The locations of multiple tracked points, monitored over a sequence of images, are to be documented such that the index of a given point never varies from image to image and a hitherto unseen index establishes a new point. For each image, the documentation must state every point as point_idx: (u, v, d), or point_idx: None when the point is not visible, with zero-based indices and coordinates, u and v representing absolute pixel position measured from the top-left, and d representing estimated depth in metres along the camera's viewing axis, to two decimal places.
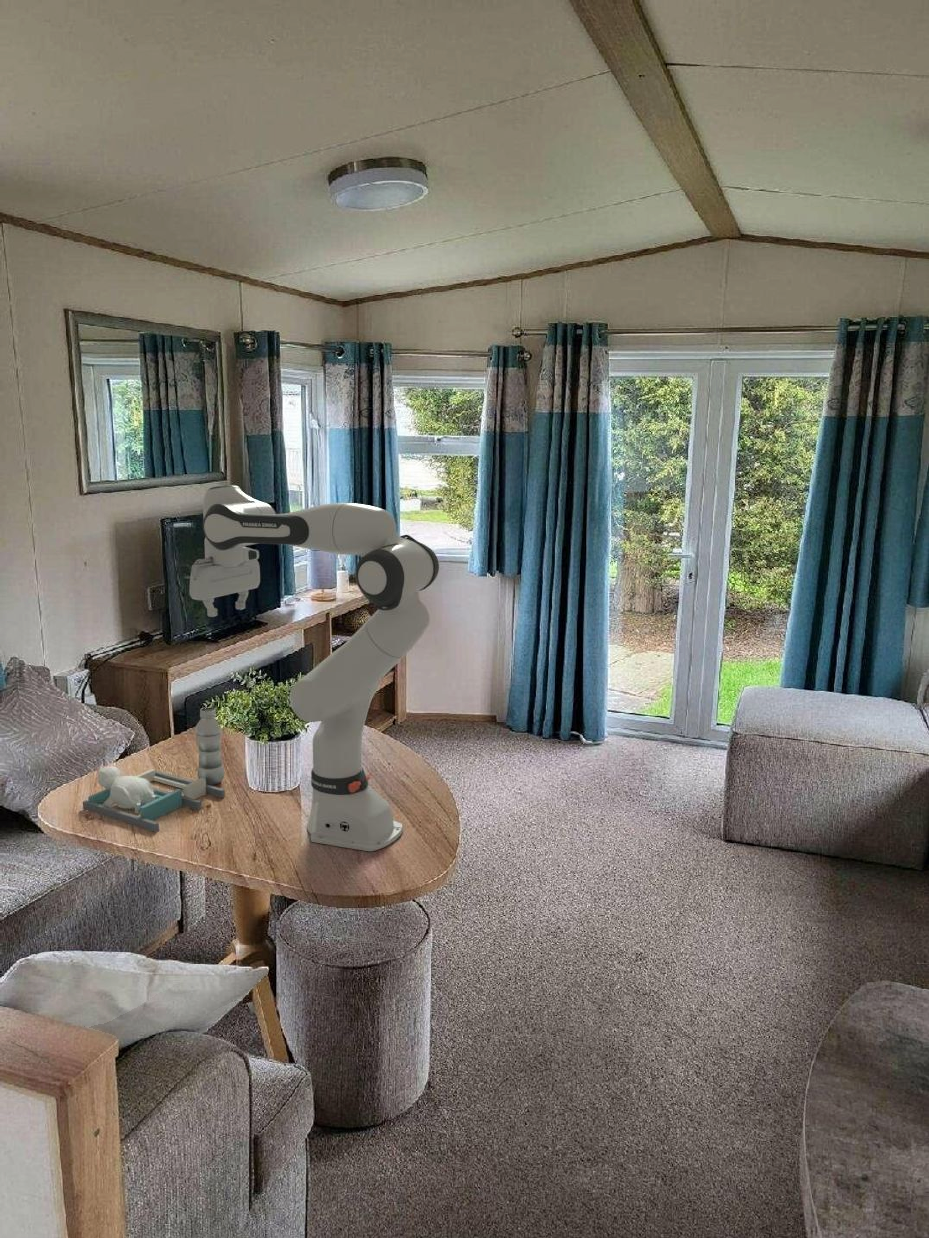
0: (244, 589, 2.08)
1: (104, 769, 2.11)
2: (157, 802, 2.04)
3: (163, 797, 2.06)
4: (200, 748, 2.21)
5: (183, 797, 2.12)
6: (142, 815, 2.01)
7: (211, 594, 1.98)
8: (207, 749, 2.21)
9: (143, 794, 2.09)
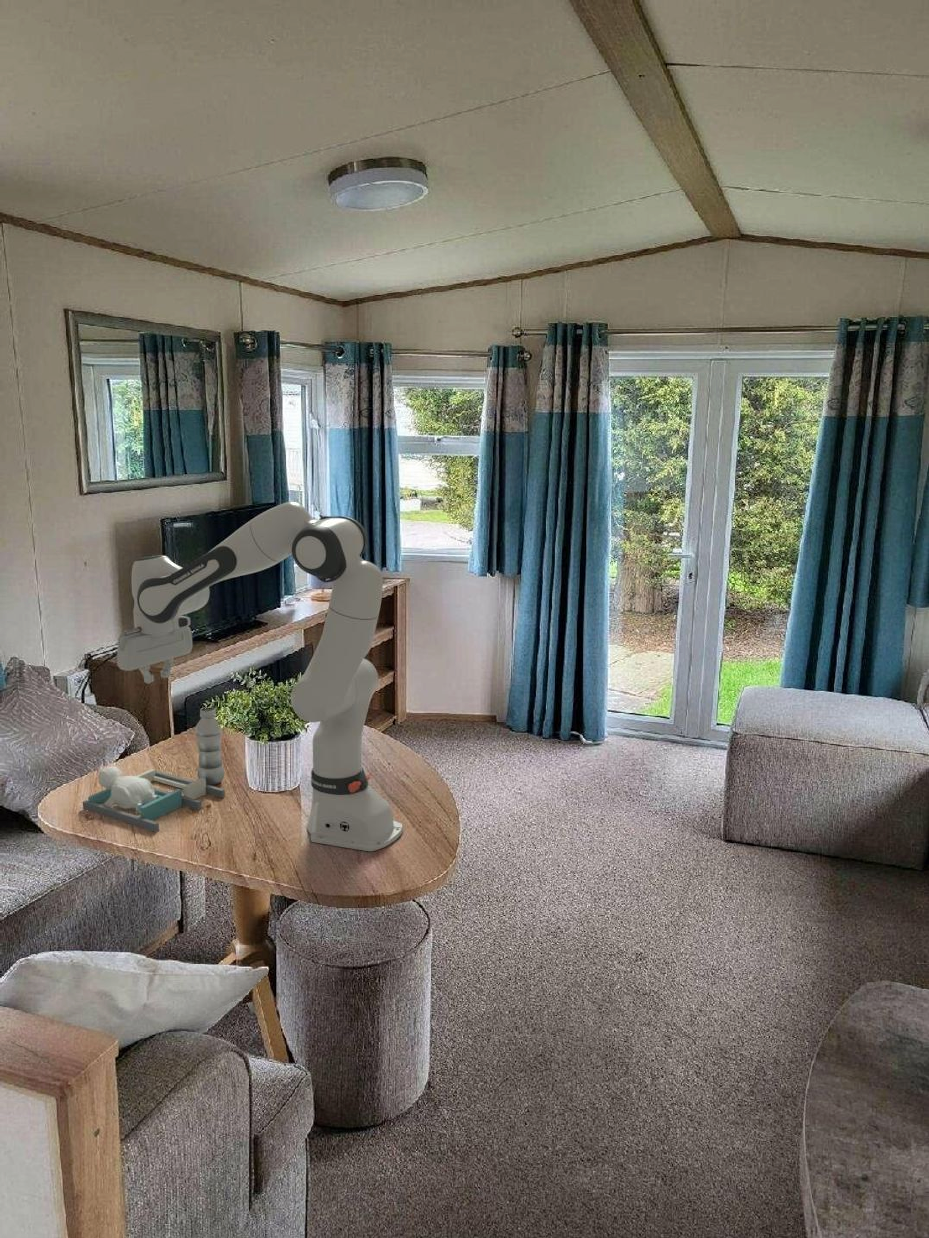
0: (175, 656, 2.09)
1: (105, 769, 2.11)
2: (157, 802, 2.04)
3: (163, 797, 2.06)
4: (200, 748, 2.21)
5: (183, 797, 2.12)
6: (142, 815, 2.01)
7: (139, 664, 1.99)
8: (207, 749, 2.21)
9: (144, 794, 2.09)
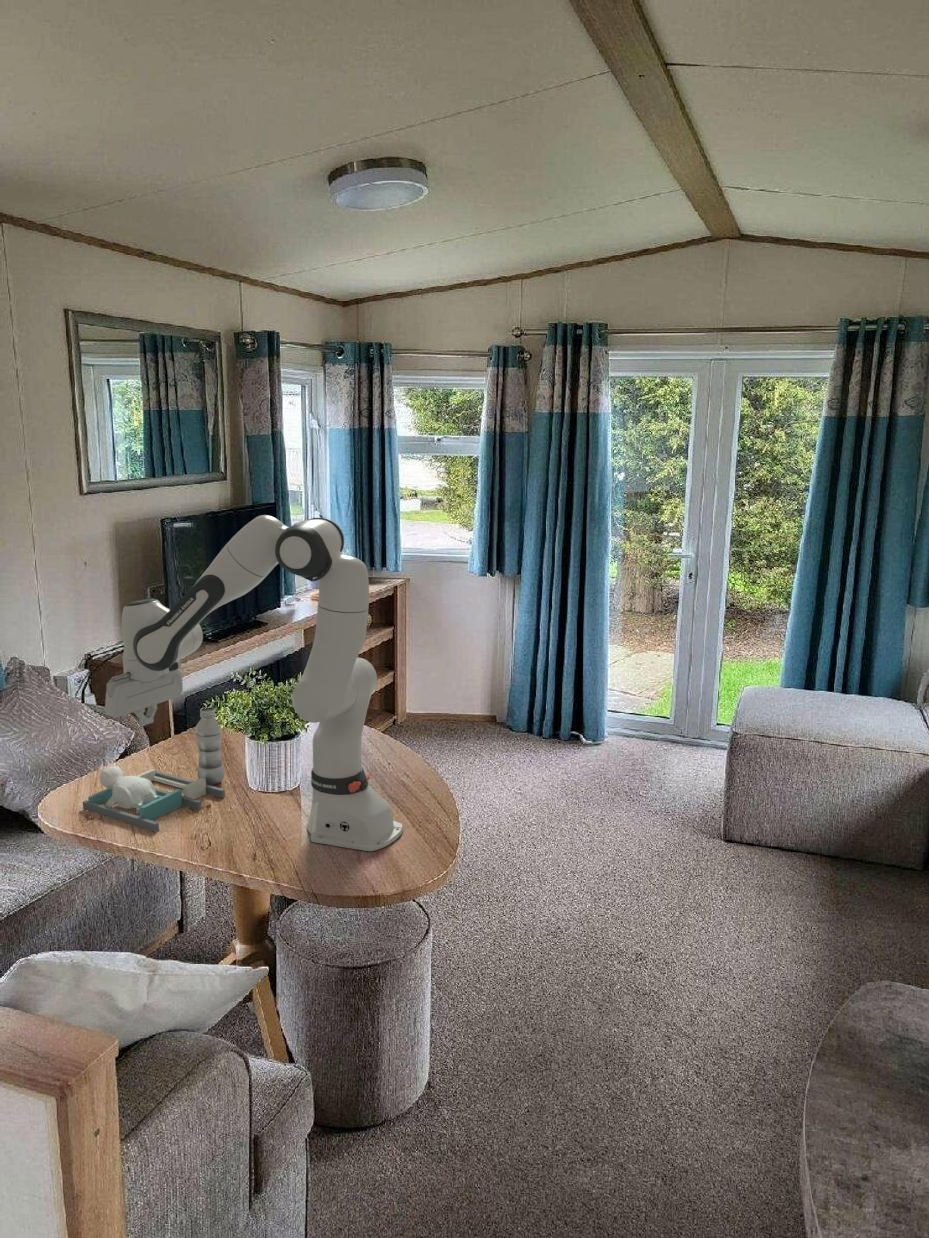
0: (165, 700, 2.06)
1: (106, 769, 2.11)
2: (157, 802, 2.04)
3: (163, 797, 2.06)
4: (200, 748, 2.21)
5: (183, 797, 2.12)
6: (142, 815, 2.01)
7: (127, 710, 1.97)
8: (207, 749, 2.21)
9: (145, 794, 2.09)
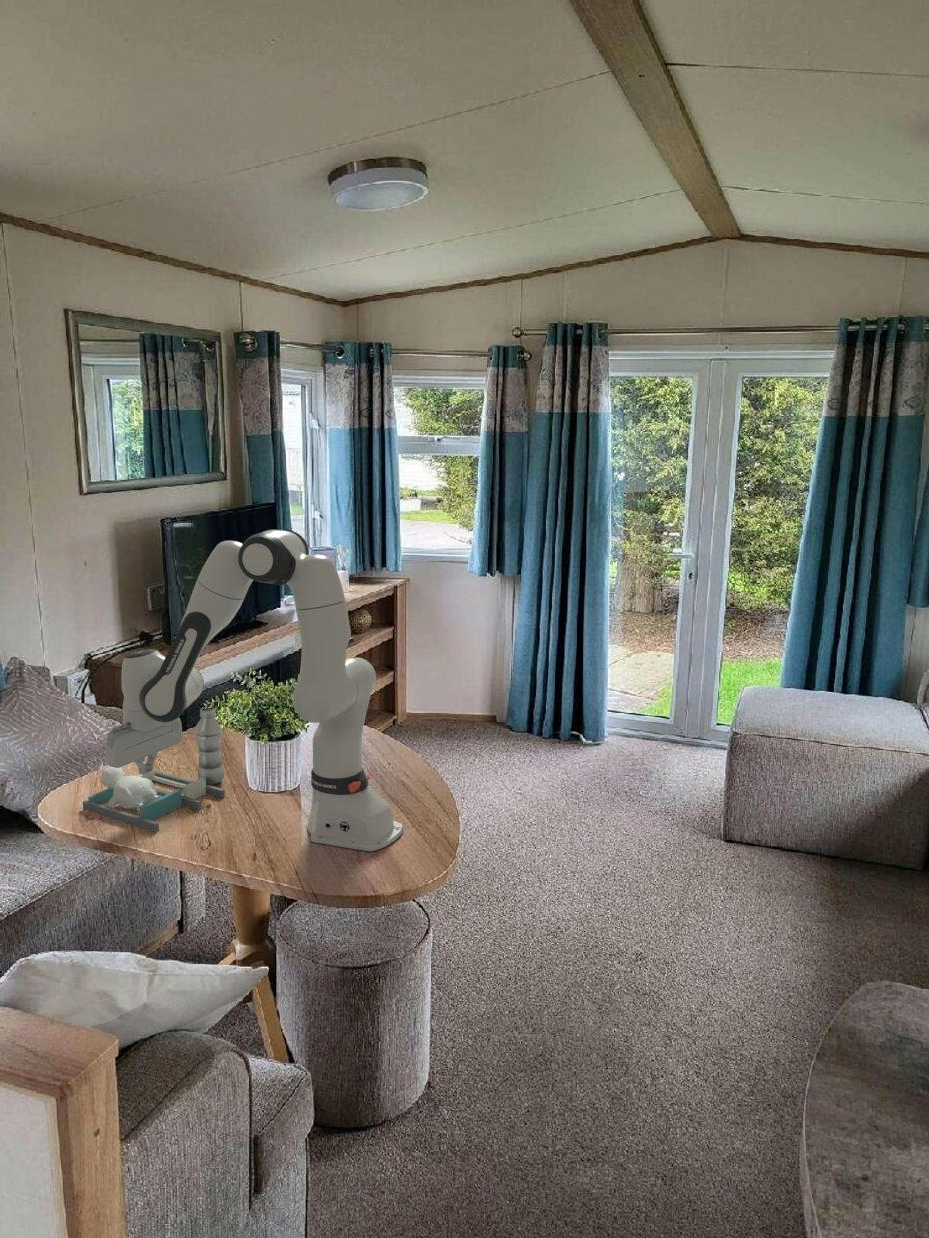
0: (164, 748, 2.08)
1: (107, 769, 2.11)
2: (157, 802, 2.04)
3: (163, 797, 2.06)
4: (200, 748, 2.21)
5: (183, 797, 2.12)
6: (142, 815, 2.01)
7: (127, 760, 1.98)
8: (207, 749, 2.21)
9: (146, 794, 2.08)
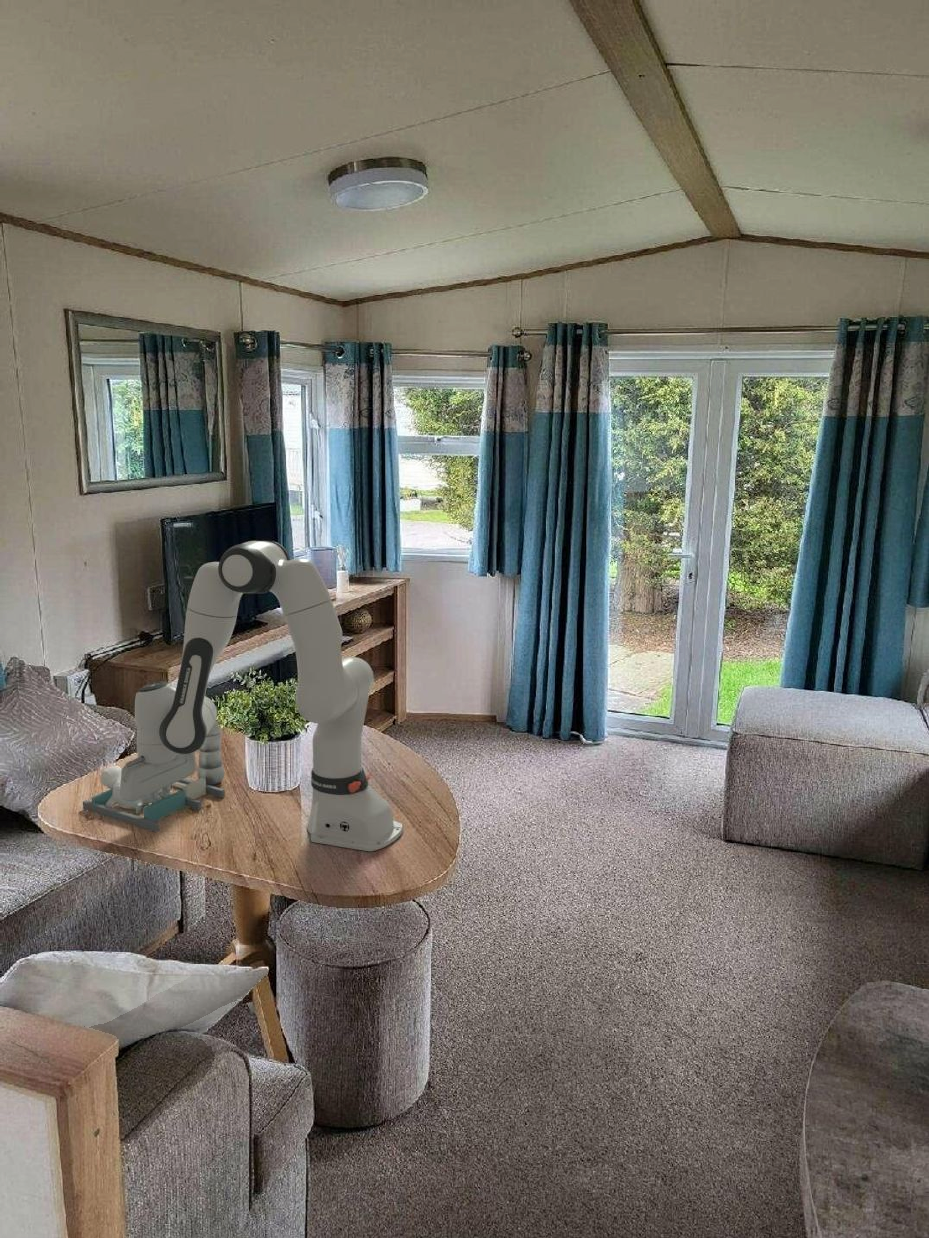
0: (178, 779, 2.08)
1: (107, 769, 2.11)
2: (160, 803, 2.03)
3: (166, 798, 2.05)
4: (200, 748, 2.21)
5: None
6: (145, 816, 2.00)
7: (142, 794, 1.98)
8: (207, 749, 2.21)
9: None
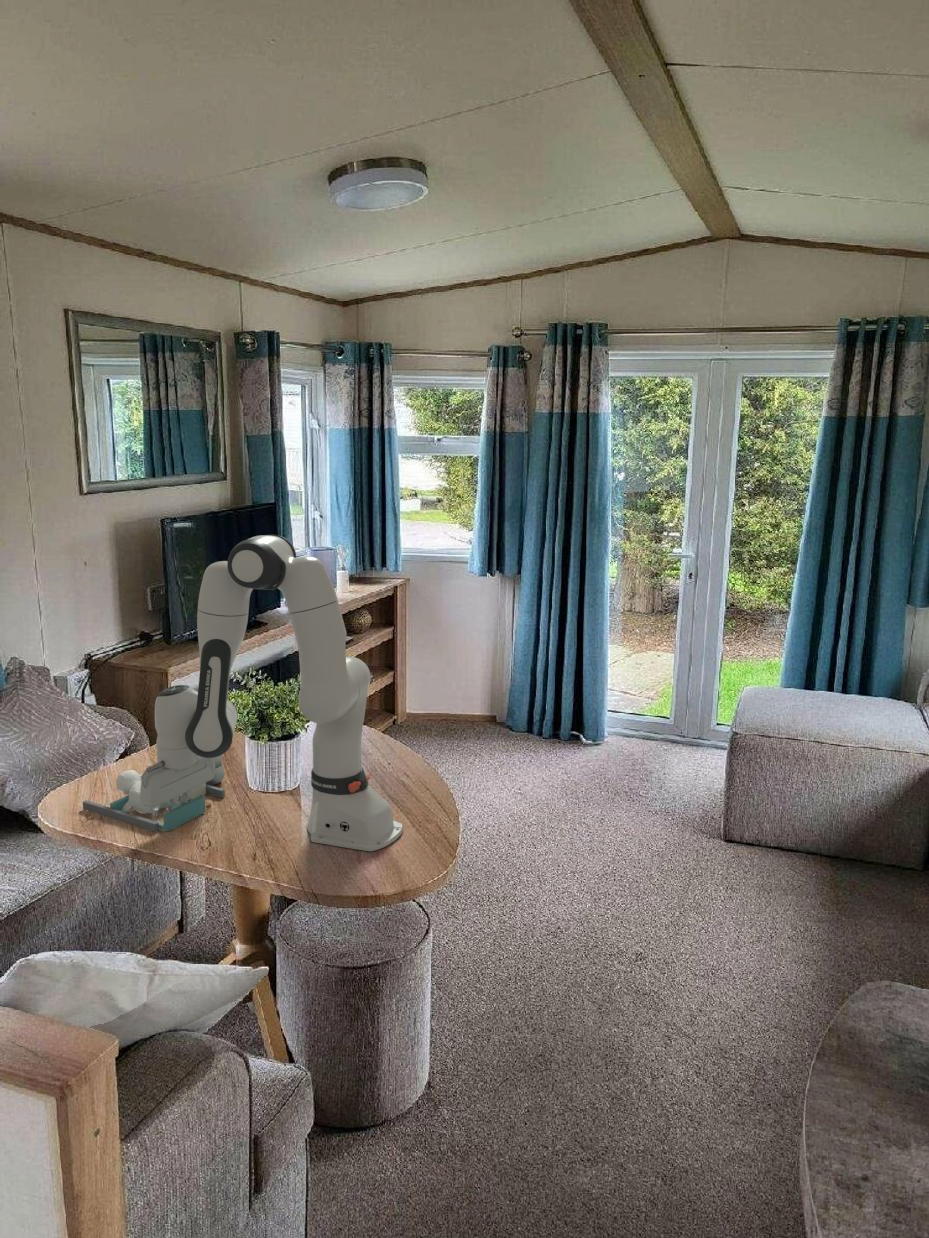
0: (198, 785, 2.05)
1: (123, 773, 2.09)
2: (180, 809, 2.00)
3: (186, 804, 2.03)
4: None
5: None
6: (166, 822, 1.97)
7: (162, 799, 1.95)
8: None
9: None
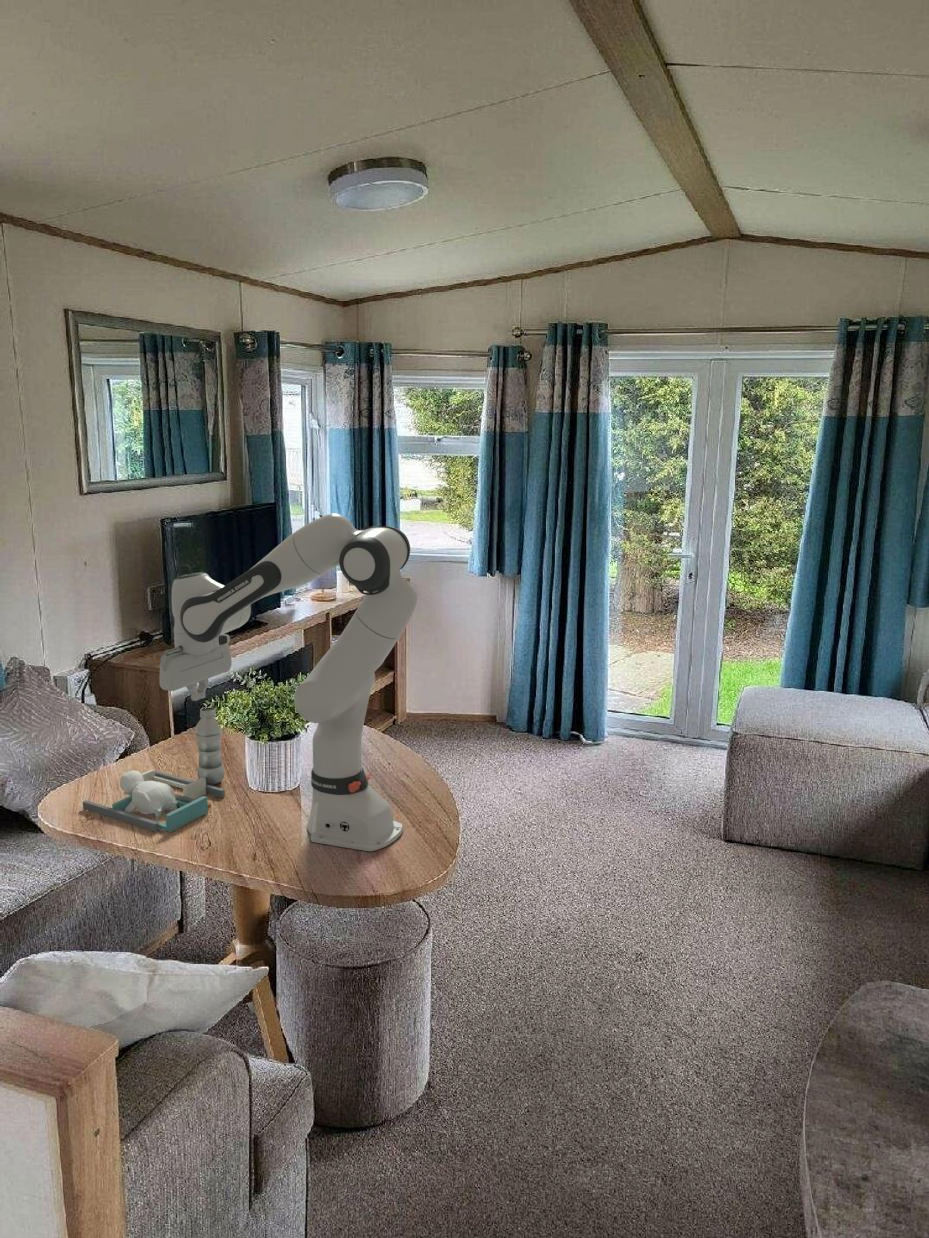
0: (215, 674, 2.06)
1: (126, 773, 2.09)
2: (183, 810, 2.00)
3: (189, 804, 2.02)
4: (200, 748, 2.21)
5: (183, 797, 2.12)
6: (168, 823, 1.97)
7: (181, 684, 1.96)
8: (207, 749, 2.21)
9: (164, 799, 2.06)
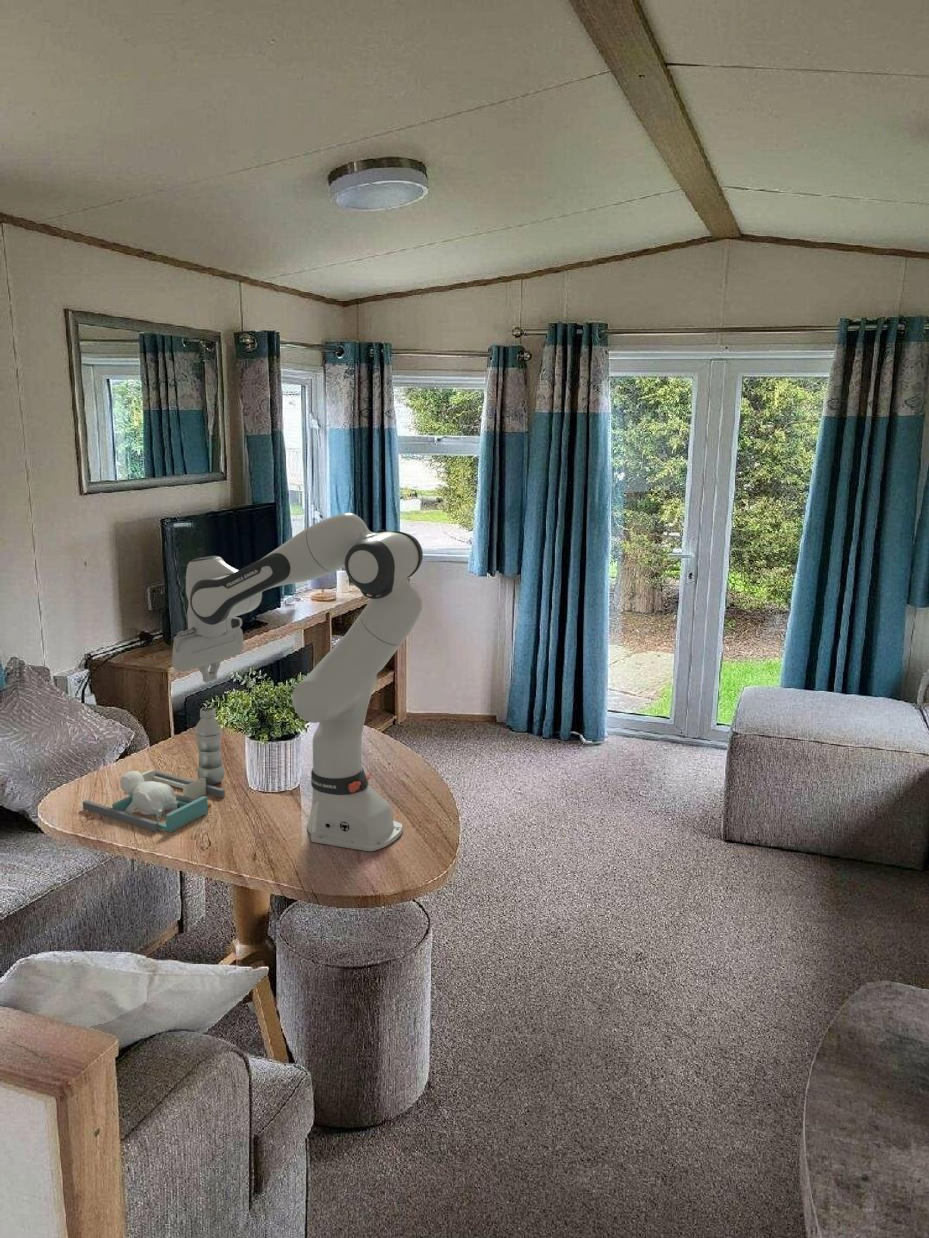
0: (227, 657, 2.09)
1: (127, 774, 2.09)
2: (183, 810, 2.00)
3: (189, 804, 2.02)
4: (200, 748, 2.21)
5: (183, 797, 2.12)
6: (168, 823, 1.97)
7: (194, 665, 2.00)
8: (207, 749, 2.21)
9: (165, 800, 2.05)
